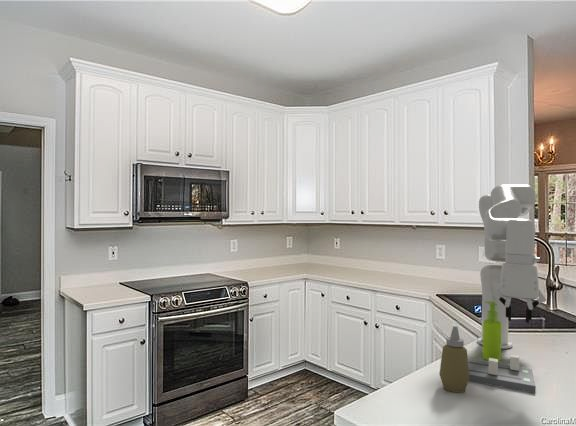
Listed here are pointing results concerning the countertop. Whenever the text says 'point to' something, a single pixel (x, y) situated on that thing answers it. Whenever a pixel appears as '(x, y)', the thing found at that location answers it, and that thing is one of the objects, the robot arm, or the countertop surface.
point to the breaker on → (514, 362)
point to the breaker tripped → (493, 366)
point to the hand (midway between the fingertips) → (518, 320)
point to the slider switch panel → (502, 376)
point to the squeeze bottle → (454, 363)
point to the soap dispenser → (492, 334)
